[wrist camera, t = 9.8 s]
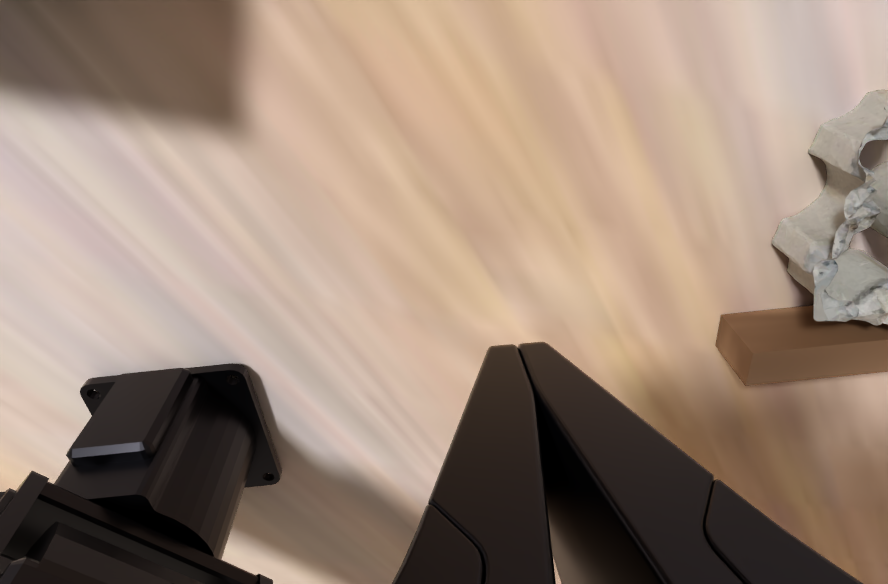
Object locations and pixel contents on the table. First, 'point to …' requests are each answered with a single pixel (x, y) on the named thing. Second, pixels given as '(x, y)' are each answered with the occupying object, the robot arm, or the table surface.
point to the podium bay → (799, 346)
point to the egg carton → (843, 220)
